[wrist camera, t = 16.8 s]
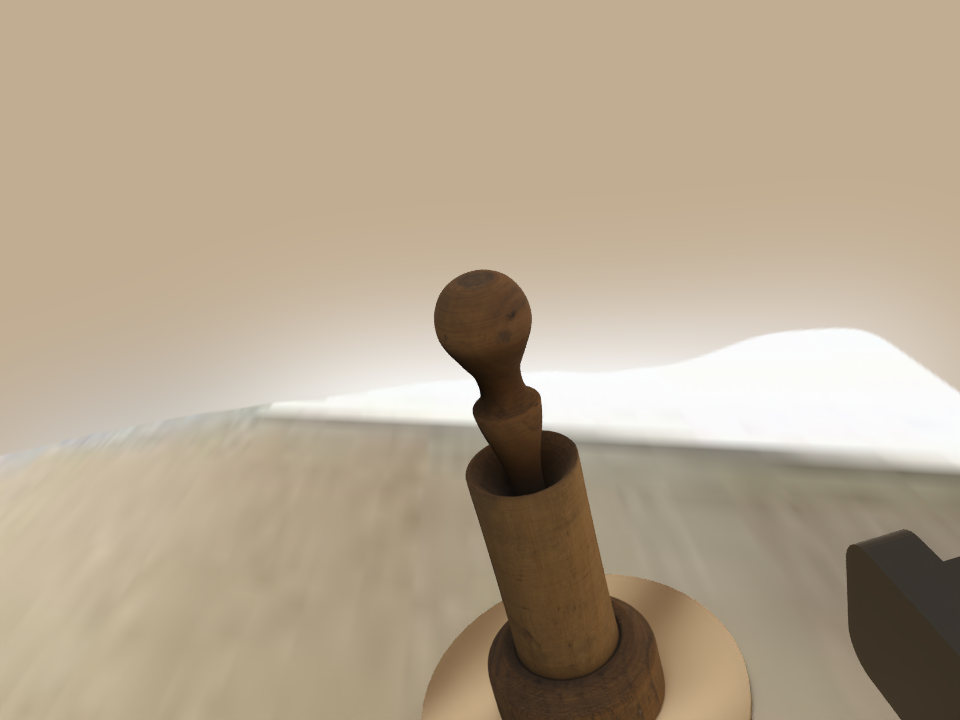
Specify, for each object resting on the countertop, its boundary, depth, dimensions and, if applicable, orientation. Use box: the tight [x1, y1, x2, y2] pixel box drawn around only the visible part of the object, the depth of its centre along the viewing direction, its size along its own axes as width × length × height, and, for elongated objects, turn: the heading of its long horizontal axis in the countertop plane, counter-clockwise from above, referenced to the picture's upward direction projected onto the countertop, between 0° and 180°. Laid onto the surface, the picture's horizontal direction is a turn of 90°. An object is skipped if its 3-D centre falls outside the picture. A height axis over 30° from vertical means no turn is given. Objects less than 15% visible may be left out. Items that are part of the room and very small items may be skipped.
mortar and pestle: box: [434, 270, 665, 720], centre depth 30 cm, size 7×6×18 cm
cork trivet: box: [422, 574, 752, 720], centre depth 34 cm, size 13×13×1 cm
